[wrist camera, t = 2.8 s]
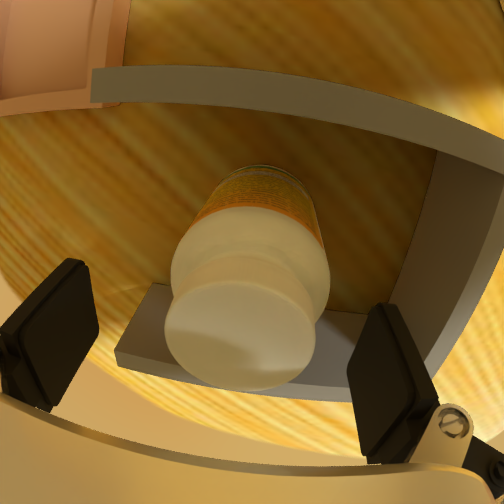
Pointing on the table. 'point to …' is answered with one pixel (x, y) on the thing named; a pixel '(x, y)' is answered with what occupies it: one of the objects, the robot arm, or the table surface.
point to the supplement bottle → (249, 283)
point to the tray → (57, 51)
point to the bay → (423, 242)
